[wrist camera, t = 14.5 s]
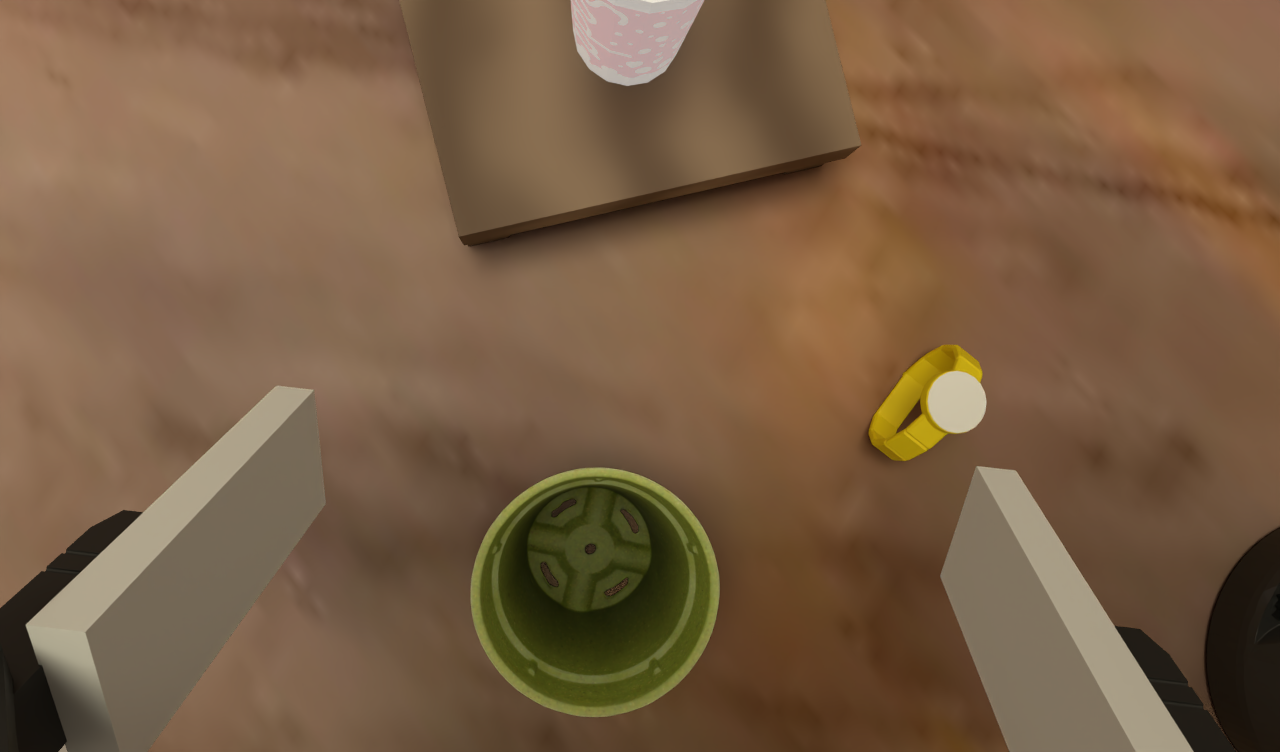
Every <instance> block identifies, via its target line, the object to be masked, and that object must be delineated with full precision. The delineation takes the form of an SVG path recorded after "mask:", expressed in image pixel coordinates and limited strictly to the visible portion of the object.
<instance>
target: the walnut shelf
mask: <svg viewBox="0 0 1280 752" xmlns="http://www.w3.org/2000/svg"><path fill="white" fill-rule="evenodd" d="M399 2H400V6H401V9H402V13H403V17H404V21H405V25H406V29H407V33H408V37H409V41H410V45H411V49H412V53H413V57H414V61H415V65H416V69H417V73H418V77H419V81H420V85H421V89H422V93H423V97H424V101H425V105H426V108H427V112H428V116H429V120H430V124H431V128H432V132H433V136H434V140H435V144H436V148H437V152H438V156H439V160H440V164H441V168H442V172H443V176H444V180H445V184H446V188H447V192H448V196H449V200H450V204H451V208H452V211H453V215H454V219H455V223H456V227H457V231H458V235H459V238H460V239H461V241H462V243H463V244H464V245H468V246H473V245H477V244H481V243H486V242H490V241H495V240H499V239H503V238H508V237H509V235H511V234H516V233H520V232H525V231H529V230H533V229H538V228H542V227H546V226H551V225H555V224H560V223H564V222H568V221H573V220H577V219H581V218H586V217H590V216H595V215H599V214H603V213H608V212H612V211H616V210H621V209H625V208H630V207H634V206H638V205H643V204H647V203H652V202H656V201H660V200H665V199H669V198H673V197H678V196H682V195H687V194H691V193H695V192H700V191H704V190H708V189H713V188H717V187H722V186H726V185H730V184H735V183H739V182H743V181H748V180H752V179H757V178H761V177H765V176H770V175H774V174H778V173H784V174H787V173H792V172H796V171H801V170H805V169H809V168H814V167H818V166H822V165H823V164H824V163H827V162H831V161H835V160H840V159H844V158H846V157H847V156H849V155H850V154H851V153H852V152H854V151H855V150H856V149H857V148H859V147H860V146H861V142H860V138H859V134H858V130H857V126H856V122H855V118H854V114H853V110H852V105H851V101H850V97H849V93H848V89H847V85H846V81H845V77H844V73H843V69H842V65H841V61H840V57H839V53H838V49H837V45H836V41H835V37H834V33H833V29H832V25H831V21H830V17H829V13H828V9H827V5H826V1H825V0H704V2H703V4H702V6H701V8H700V10H699V12H698V14H697V16H696V18H695V19H694V21H693V23H692V25H691V27H690V29H689V31H688V33H687V35H686V37H685V39H684V41H683V43H682V44H681V46H680V48H679V50H678V52H677V54H676V56H675V57H674V59H673V60H672V62H671V63H670V65H669V66H668V68H667V69H666V71H665V72H663V73H662V74H660V75H659V76H657V77H656V78H654V79H652V80H651V81H649V82H648V83H642V84H636V85H630V86H625V85H621V84H617V83H612V82H608V81H606V80H604V79H603V78H601V77H600V76H599V75H597V74H596V73H594V72H593V71H591V70H590V69H589V68H588V66H587V65H586V63H585V62H584V60H583V59H582V57H581V56H580V54H579V53H578V51H577V47H576V42H575V37H574V32H573V23H572V11H571V0H399Z"/></svg>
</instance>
